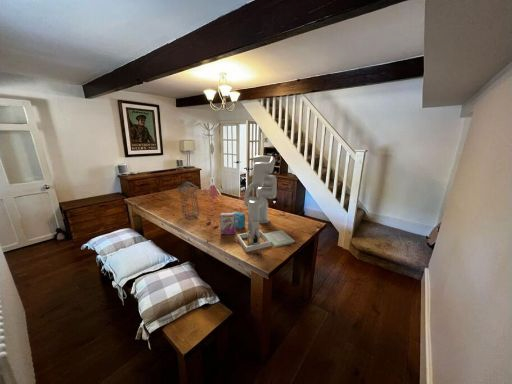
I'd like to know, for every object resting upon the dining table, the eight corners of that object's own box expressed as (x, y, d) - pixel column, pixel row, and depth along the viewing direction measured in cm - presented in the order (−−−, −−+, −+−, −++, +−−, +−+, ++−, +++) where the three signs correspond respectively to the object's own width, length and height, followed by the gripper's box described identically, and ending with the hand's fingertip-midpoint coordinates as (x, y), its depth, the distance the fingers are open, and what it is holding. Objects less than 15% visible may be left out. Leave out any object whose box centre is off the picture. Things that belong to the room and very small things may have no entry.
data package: (231, 225, 168) (230, 212, 165) (234, 223, 172) (233, 210, 169) (242, 229, 162) (241, 215, 159) (245, 227, 166) (245, 214, 162)
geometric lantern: (202, 218, 184) (199, 181, 173) (186, 222, 174) (181, 185, 164) (195, 212, 195) (192, 178, 185) (180, 217, 186) (175, 181, 175)
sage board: (263, 235, 152) (263, 233, 151) (281, 231, 158) (281, 229, 158) (275, 247, 136) (275, 245, 136) (294, 242, 142) (294, 240, 142)
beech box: (247, 241, 143) (247, 231, 141) (257, 239, 146) (257, 229, 144) (249, 245, 139) (249, 234, 136) (260, 242, 142) (260, 232, 139)
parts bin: (237, 238, 147) (237, 234, 146) (259, 234, 154) (259, 230, 153) (246, 251, 131) (246, 247, 130) (271, 245, 138) (271, 241, 137)
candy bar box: (220, 234, 153) (219, 215, 148) (221, 231, 158) (220, 212, 153) (235, 234, 153) (234, 215, 149) (235, 231, 158) (234, 212, 154)
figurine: (216, 230, 159) (215, 189, 150) (200, 221, 176) (198, 183, 167) (231, 225, 170) (231, 185, 160) (214, 216, 187) (213, 180, 178)
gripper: (244, 213, 143) (244, 235, 148) (253, 223, 128) (253, 247, 133) (253, 212, 146) (253, 234, 151) (263, 221, 131) (263, 245, 136)
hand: (253, 240), depth 142 cm, fingers open, 5 cm apart
